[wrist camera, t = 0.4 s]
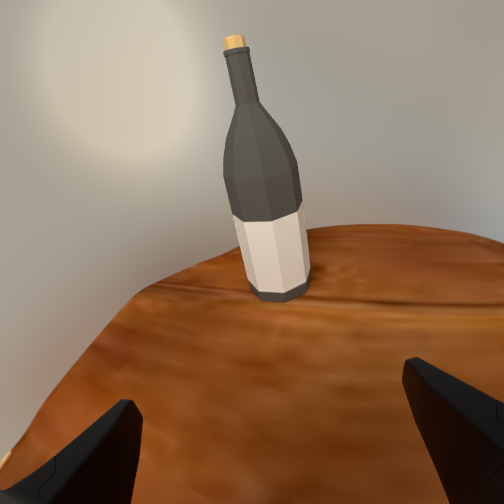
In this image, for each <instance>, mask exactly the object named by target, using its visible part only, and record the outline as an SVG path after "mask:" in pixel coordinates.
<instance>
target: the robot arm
mask: <svg viewBox="0 0 504 504" xmlns="http://www.w3.org/2000/svg"><path fill="white" fill-rule="evenodd" d="M402 383H403V386H404V389H405V392H406V395H407V398H408V401H409V404H410V407H411V410H412V414H413V417H414V419H415V422H416V424H417V427H418V429H419V431H420V433H421V436H422V438H423V440H424V442H425V445H426V447H427V449H428V451H429V454H430V456H431V458H432V461H433V463H434V465H435V468H436V470H437V473H438V475H439V477H440V480H441V482H442V485H443V487H444V490H445V492H446V495H447V498H448V500H449V503H450V504H504V403H502V402H501V401H499V400H495V398H493V397H491V396H489V395H487V394H485V393H483V392H481V391H480V390H478V389H476V388H474V387H472V386H470V385H468V384H466V383H465V382H463V381H461V380H459V379H457V378H455V377H453V376H452V375H450V374H448V373H446V372H444V371H442V370H440V369H439V368H437V367H435V366H433V365H431V364H429V363H427V362H426V361H424V360H422V359H420V358H418V357H414V358H411V359H408V360H406V361H405V363H404V369H403V376H402ZM142 424H143V418H142V415H141V413H140V411H139V410H138V408H137V406H136V405H135V403H134V401H132V400H128V399H122V400H120V401H119V402H117V403H116V404H115V405H114V406H113V407H112V408H111V409H109V410H108V411H107V412H106V413H105V414H104V415H102V416H101V417H100V418H99V419H98V420H97V421H95V422H94V423H93V424H92V425H91V426H90V427H88V428H87V429H86V430H85V431H84V432H82V433H81V434H80V435H79V436H78V437H77V438H75V439H74V440H73V441H72V442H71V443H69V444H68V445H67V446H66V447H65V448H63V449H62V450H61V451H60V452H59V453H57V454H56V456H54V457H52V458H51V459H50V460H49V461H48V462H46V463H45V464H44V465H42V466H41V467H40V468H39V469H37V470H36V471H34V472H33V473H31V474H30V475H28V476H27V477H25V478H24V479H22V480H21V481H19V482H18V483H16V484H14V485H13V486H11V487H10V488H8V489H5V490H1V491H0V504H131V500H132V494H133V488H134V483H135V478H136V472H137V467H138V462H139V456H140V446H141V435H142Z"/></svg>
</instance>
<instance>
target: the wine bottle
mask: <svg viewBox="0 0 504 504" xmlns="http://www.w3.org/2000/svg"><path fill="white" fill-rule="evenodd" d="M223 41H224V45H225V49H226V51H224V52H223V53H224V57H225V58H226V63H227V67H228V72H229V76H230V81H231V86H232V91H233V95H234V100H235V104H236V107H235V111H234V115H233V118H232V121H231V124H230V128H229V131H228V134H227V137H226V143H225V150H224V163H223V166H224V170H223V173H224V174H223V176H224V181H225V185H226V189H227V193H228V198H229V202H230V206H231V210H232V214H233V219H234V223H235V227H236V232H237V236H238V240H239V244H240V248H241V253H242V257H243V261H244V265H245V269H246V273H247V278H248V281H249V285H250V287H251V289H252V290H253V292H254V293H255V294H256V295H257V296H258V297H259V298H260V299H261V300H262V301H274V302H287V301H289V300H291V299H293V298H295V297H297V296H299V295H301V294H303V293H305V292H306V291H307V287H308V284H309V281H310V276H311V270H310V260H309V250H308V241H307V233H306V224H305V216H304V208H303V201H302V193H301V186H300V179H299V172H298V165H297V161H296V158H295V156H294V153H293V151H292V148H291V146H290V144H289V142H288V140H287V138H286V137H285V135H284V133H283V131H282V130H281V128H280V127H279V126H278V124H277V123H276V122H275V121H274V119H273V118H272V117H271V116H270V115H269V113H268V112H267V111H266V110H265V109H264V107H263V106H262V105H261V103H260V102H259V97H258V92H257V87H256V83H255V78H254V72H253V68H252V64H251V58H250V54H249V52H250V49H249V47H246V43H245V39H244V36H243V35H233V36H229V37H226V38H225V39H224V40H223Z"/></svg>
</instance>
